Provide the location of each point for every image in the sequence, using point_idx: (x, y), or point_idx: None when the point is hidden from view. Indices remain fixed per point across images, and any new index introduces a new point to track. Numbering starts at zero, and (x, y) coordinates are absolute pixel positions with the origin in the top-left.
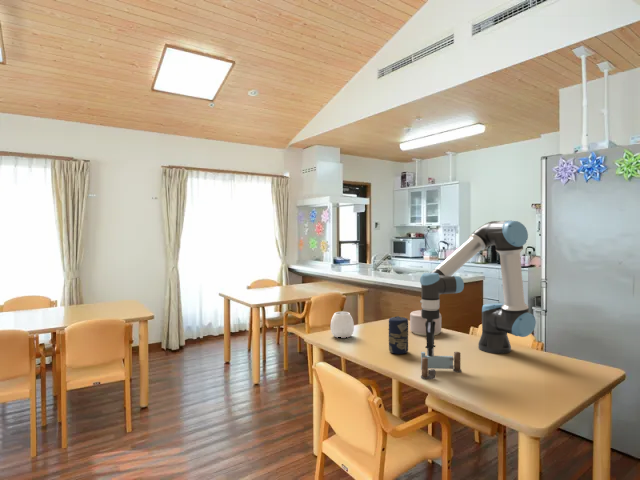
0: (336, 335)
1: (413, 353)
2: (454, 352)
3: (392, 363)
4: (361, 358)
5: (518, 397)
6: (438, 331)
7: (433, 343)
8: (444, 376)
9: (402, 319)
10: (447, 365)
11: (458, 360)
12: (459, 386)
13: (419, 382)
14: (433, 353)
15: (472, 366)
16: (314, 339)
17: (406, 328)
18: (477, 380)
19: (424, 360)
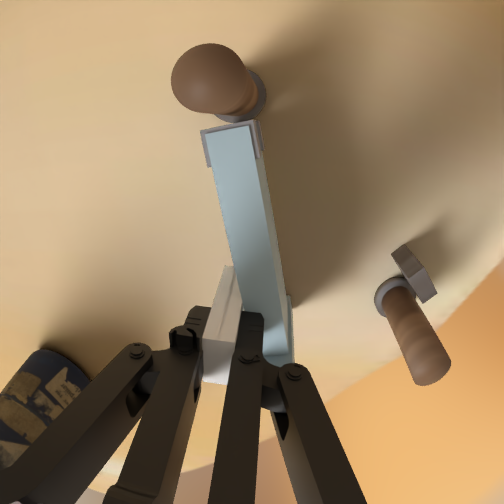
0: None
1: (44, 325)
2: (213, 108)
3: (210, 410)
4: (194, 464)
5: None
6: None
7: (185, 369)
8: (363, 187)
9: None
10: (263, 167)
11: (250, 76)
12: (489, 130)
13: (447, 314)
14: (239, 311)
15: (120, 16)
16: (106, 490)
17: (10, 439)
18: (385, 4)
19: (446, 364)
